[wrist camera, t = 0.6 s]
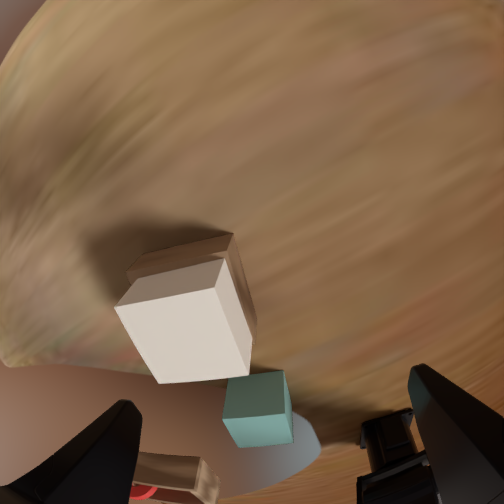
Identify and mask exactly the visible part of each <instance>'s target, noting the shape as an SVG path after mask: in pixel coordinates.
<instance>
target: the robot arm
mask: <svg viewBox="0 0 504 504" xmlns="http://www.w3.org/2000/svg"><path fill="white" fill-rule="evenodd" d="M408 392H409V395H410V399H411V403H412V407H413V409H409V410H406V411H403V412H400V413H397V414H393V415H390V416H387V417H383V418H380V419H376V420H372V421H368V422H365V423H363V424H362V426H361V438H360V449H366V448H367V453H368V457H369V462H370V466H371V471H372V473H370V474H367V475H364V476H360V477H357V483H356V486H357V504H440V503H439V499H438V496H437V494H439V493H440V496H441V500H442V504H504V418H503V416H501V415H500V414H498V413H497V412H495V411H494V410H492V409H491V408H490V407H488V406H487V405H485V404H484V403H482V402H481V401H479V400H478V399H476V398H475V397H473V396H472V395H470V394H469V393H467V392H466V391H465V390H463V389H462V388H460V387H459V386H457V385H456V384H454V383H453V382H451V381H450V380H448V379H447V378H445V377H444V376H442V375H441V374H439V373H438V372H436V371H435V370H434V369H432V368H431V367H429V366H428V365H426V364H424V363H422V364H419V365H415V366H413V367H412V368H411V370H410V376H409V380H408ZM413 415H415V419H416V423H417V427H418V430H419V433H420V436H421V439H422V442H423V445H424V447H425V450H423V451H421V452H419V453H418V450H417V447H416V444H415V441H414V438H413V435H412V433H411V430H410V425H411V421H412V418H413ZM141 428H142V415H141V413H140V412H139V410H138V409H137V407H136V406H135V405H134V403H133V402H132V401H131V400H125V399H121V400H119V401H117V402H116V403H115V404H114V405H113V406H111V407H110V408H109V409H108V410H107V411H105V412H104V413H103V414H102V415H101V416H99V417H98V418H97V419H96V420H95V421H93V422H92V423H91V424H90V425H89V426H87V427H86V428H85V429H84V430H82V431H81V432H80V433H79V434H78V435H76V436H75V437H74V438H73V439H71V440H70V441H69V442H68V443H67V444H65V445H64V446H63V447H62V448H60V449H59V450H58V451H57V452H55V453H54V455H52V456H50V457H49V458H48V459H47V460H45V461H44V462H43V463H41V464H40V465H39V466H37V467H36V468H34V469H33V470H31V471H30V472H28V473H26V474H25V475H23V476H22V477H20V478H19V479H17V480H15V481H14V482H12V483H10V484H8V485H5V486H0V504H128V502H129V497H130V492H131V487H132V482H133V477H134V473H135V468H136V464H137V459H138V453H139V444H140V436H141ZM428 464H430V465H429V466H427V465H428Z"/></svg>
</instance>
